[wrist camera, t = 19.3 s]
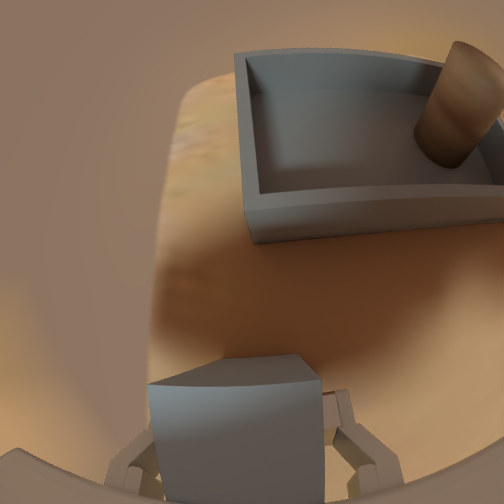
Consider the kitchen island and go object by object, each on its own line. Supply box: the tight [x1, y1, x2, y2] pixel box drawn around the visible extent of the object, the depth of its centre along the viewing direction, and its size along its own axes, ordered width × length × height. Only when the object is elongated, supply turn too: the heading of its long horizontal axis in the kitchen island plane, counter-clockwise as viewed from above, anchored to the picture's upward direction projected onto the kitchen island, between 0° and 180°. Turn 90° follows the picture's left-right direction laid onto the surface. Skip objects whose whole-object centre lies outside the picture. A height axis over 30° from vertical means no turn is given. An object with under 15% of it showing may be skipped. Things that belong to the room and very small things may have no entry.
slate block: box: [147, 354, 325, 504], centre depth 10 cm, size 4×4×10 cm
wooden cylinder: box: [414, 41, 504, 169], centre depth 13 cm, size 5×5×9 cm
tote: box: [234, 48, 504, 245], centre depth 17 cm, size 22×14×5 cm, turn 94°
